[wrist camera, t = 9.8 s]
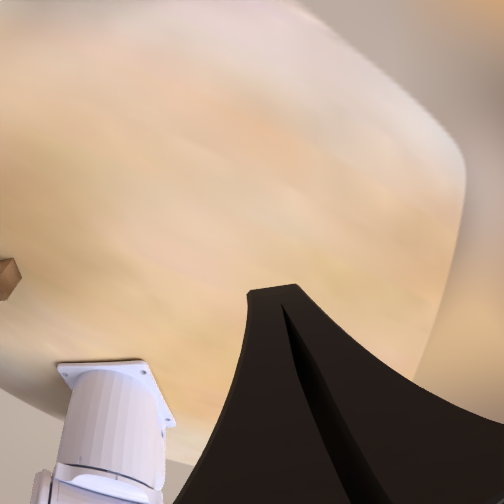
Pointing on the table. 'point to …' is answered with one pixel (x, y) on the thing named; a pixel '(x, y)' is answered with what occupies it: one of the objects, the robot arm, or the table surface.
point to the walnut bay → (8, 278)
